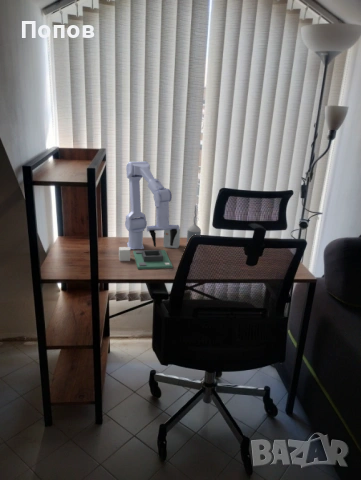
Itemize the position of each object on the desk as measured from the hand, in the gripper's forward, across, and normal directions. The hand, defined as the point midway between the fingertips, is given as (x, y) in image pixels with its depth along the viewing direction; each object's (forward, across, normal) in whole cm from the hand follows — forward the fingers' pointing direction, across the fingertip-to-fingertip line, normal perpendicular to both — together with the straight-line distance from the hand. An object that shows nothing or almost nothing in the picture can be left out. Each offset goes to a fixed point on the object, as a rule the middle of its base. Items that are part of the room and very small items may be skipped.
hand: (163, 245), depth 179 cm
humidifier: (+9, +18, +17) cm, 26 cm away
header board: (+9, -4, +8) cm, 13 cm away
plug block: (+8, -17, +10) cm, 22 cm away
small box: (+8, +9, +26) cm, 29 cm away
